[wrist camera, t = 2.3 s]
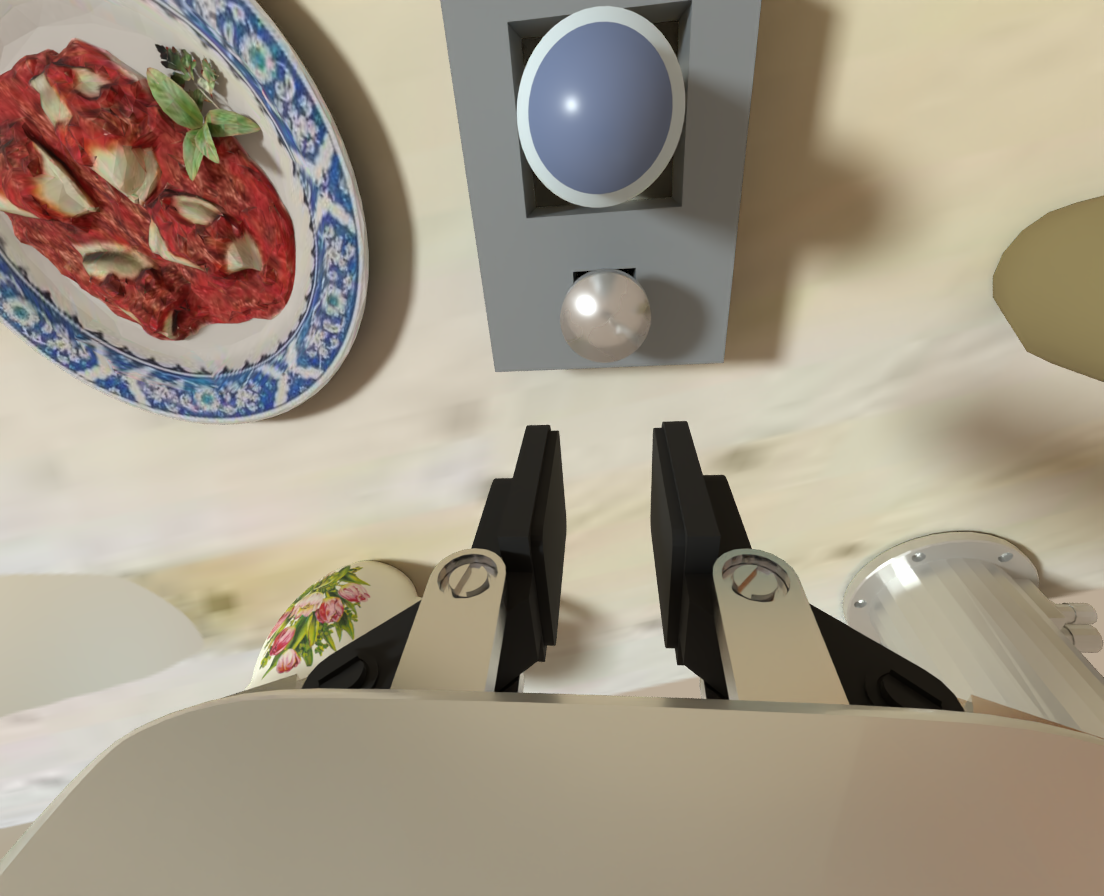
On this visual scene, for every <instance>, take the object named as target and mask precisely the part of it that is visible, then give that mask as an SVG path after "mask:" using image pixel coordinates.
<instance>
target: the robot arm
mask: <svg viewBox="0 0 1104 896" xmlns="http://www.w3.org/2000/svg"><path fill="white" fill-rule="evenodd" d="M651 535H652V543H653V552H654V560H655V568H656V576H657V585H658V593H659V601H660V609H661V618H662V626H663V634H664V642H665V647H666V648H675V653H676V660H677V665H685V666H686V667H688V668H689V669H690V670H691V671H693V672H694V673H695V674H696V675H698V676H699V677H700V693H701V699H694V698H664V697H635V696H607V695H576V694H546V693H523V688H524V671H525V670H527V669H528V668H529V667H530V666H532V665H533V664H534V663H536V662H537V661H539V662H545V657H546V648H547V645H551V646H555V645H556V638H557V628H558V617H559V606H560V595H561V584H562V573H563V562H564V552H565V541H566V509H565V497H564V485H563V473H562V461H561V448H560V436H559V431H551V428H550V425H529V426H527V427H526V430H525V434H524V437H523V441H522V445H521V449H520V453H519V457H518V460H517V464H516V468H515V472H514V476H513V478H501V479H494V480H493V482H492V485H491V488H490V491H489V495H488V498H487V501H486V504H485V507H484V510H483V513H482V517H481V520H480V523H479V526H478V529H477V532H476V536H475V539H474V542H473V545H472V548H471V549H465V550H461V551H458V552H456V553H453V554H451V555H449V556H448V557H446V558H444V559H443V560H442V561H441V562H440V563H439V564H438V565H436V566H435V568H434V570H433V571H432V573H431V575H430V577H429V580H428V583H427V586H426V589H425V592H424V594H423V597H422V600H420V601H418V602H417V603H415V604H413V605H412V606H410V607H408V608H407V609H405V610H403V611H402V612H400V613H399V614H397V615H395V616H394V617H392V618H390V619H389V620H387V621H385V622H384V623H382V624H380V625H379V626H377V627H375V628H374V629H372V630H370V631H369V632H367V633H366V634H364V635H362V636H361V637H359V638H357V639H356V640H354V641H352V642H351V643H349V644H347V645H346V646H344V647H342V648H341V649H339V650H337V651H336V652H334V653H333V654H331V655H329V656H328V657H327V658H325V659H324V660H323V661H321V662H320V663H319V664H318V665H317V666H316V667H315V668H314V669H313V671H312V672H311V673H310V674H309V675H308V677H306V678H303V679H300V678H299V676H298V675H297V674H295V675H291V676H288V677H285V678H282V679H279V680H276V681H273V682H270V683H267V684H264V685H261V686H257V687H254V688H251V689H248V690H245V691H242V692H239V693H236V694H233V695H230V696H227V697H223V698H220V699H216V700H211V701H208V702H204V703H201V704H198V705H195V706H192V707H189V708H185V709H182V710H179V711H176V712H173V713H170V714H168V715H165V716H163V717H160V718H158V719H156V720H153V721H151V722H149V723H147V724H145V725H143V726H141V727H139V728H137V729H135V730H133V731H131V732H130V733H128V734H127V735H125V736H124V737H122V738H120V739H119V740H117V741H116V742H114V743H113V744H112V745H111V746H110V747H108V748H107V749H106V750H105V751H103V752H102V753H101V754H100V755H98V756H97V757H96V758H95V759H94V760H93V761H92V762H91V763H90V764H89V765H88V766H87V767H85V768H84V769H83V770H82V771H81V772H80V773H79V774H78V775H77V776H76V777H75V778H74V779H73V780H72V781H71V782H70V783H69V784H68V785H67V786H66V787H65V789H64V790H63V791H62V792H61V793H60V794H59V795H58V796H57V797H56V798H55V799H54V801H53V802H52V803H51V804H50V805H49V806H48V807H47V808H46V809H45V810H44V811H43V813H42V814H41V815H40V816H39V817H38V818H37V819H36V820H35V821H34V822H33V823H32V825H31V826H30V827H29V828H28V829H27V830H26V831H25V833H24V834H23V835H22V836H21V837H20V838H19V840H18V841H17V842H16V843H15V844H14V845H13V846H12V848H11V849H10V850H9V851H8V852H7V853H6V855H5V856H4V857H3V858H2V859H1V860H0V896H1104V677H1103V676H1102V675H1101V674H1100V673H1099V672H1098V671H1097V670H1096V669H1095V668H1094V667H1093V665H1091V663H1090V662H1089V661H1088V660H1087V659H1086V658H1085V657H1084V656H1083V655H1082V654H1081V652H1088V653H1094V652H1099V651H1100V650H1101V649H1102V646H1103V641H1102V637H1101V635H1100V633H1099V632H1098V631H1097V629H1096V628H1094V627H1093V626H1091V625H1088V624H1093V623H1095V622H1096V620H1097V613H1096V611H1095V609H1094V608H1093V607H1092V606H1091V605H1089V604H1086V603H1062V604H1055V603H1054V602H1052V601H1050V600H1049V599H1048V598H1047V597H1046V596H1045V595H1044V594H1043V593H1042V592H1041V591H1040V590H1039V577H1038V573H1037V570H1036V568H1035V566H1034V565H1033V563H1032V562H1031V561H1030V559H1029V558H1028V557H1027V556H1026V555H1025V554H1024V553H1022V552H1021V551H1020V550H1019V549H1018V548H1017V547H1016V546H1015V545H1013V544H1011V543H1009V542H1008V541H1006V540H1004V539H1001V538H998V537H995V536H992V535H989V534H982V533H975V532H948V533H940V534H933V535H928V536H924V537H920V538H917V539H913V540H910V541H908V542H905V543H902V544H900V545H897V546H895V547H893V548H891V549H889V550H887V551H886V552H884V553H882V554H880V555H879V556H877V557H876V558H874V559H873V560H872V561H870V562H869V563H868V564H866V565H865V566H864V567H863V568H862V569H861V570H860V571H859V572H858V573H857V574H856V575H855V577H854V578H853V580H852V581H851V582H850V584H849V585H848V587H847V590H846V592H845V595H844V598H843V613H844V617H845V620H846V621H847V623H848V625H846V624H844V623H842V622H841V621H839V620H837V619H835V618H834V617H832V616H830V615H828V614H827V613H825V612H823V611H821V610H820V609H818V608H816V607H814V606H813V605H811V604H809V602H808V600H807V597H806V595H805V592H804V590H803V587H802V585H801V582H800V580H799V577H798V576H797V574H796V573H795V571H794V569H793V568H792V567H791V566H789V565H788V564H787V563H786V562H785V561H784V560H782V559H780V558H779V557H777V556H775V555H773V554H771V553H767V552H764V551H761V550H756V549H752V548H751V545H750V542H749V540H748V537H747V534H746V531H745V528H744V526H743V523H742V520H741V517H740V515H739V512H738V509H737V506H736V503H735V501H734V498H733V495H732V492H731V489H730V487H729V484H728V481H727V479H726V477H725V476H724V475H703V474H702V471H701V467H700V464H699V460H698V457H697V454H696V450H695V447H694V443H693V440H692V436H691V433H690V430H689V426H688V423H687V421H674V422H663V423H662V428H654V429H653V451H652V485H651ZM1069 623H1070V624H1069Z"/></svg>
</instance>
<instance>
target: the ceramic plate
mask: <svg viewBox="0 0 1104 896" xmlns="http://www.w3.org/2000/svg"><path fill="white" fill-rule="evenodd" d="M368 279H369V250H368V239H367V228H366V222H365V216H364V211H363V205H362V200H361V196H360V193H359V189H358V185H357V181H356V177H355V174H354V171H353V168H352V165H351V162H350V159H349V156H348V153H347V151H346V148H345V145H344V142H343V140H342V138H341V135H340V133H339V131H338V129H337V126H336V124H335V122H334V119H333V117H332V115H331V113H330V111H329V109H328V107H327V105H326V103H325V101H324V99H323V97H322V96H321V94H320V92H319V90H318V88H317V86H316V84H315V82H314V81H313V79H312V78H311V76H310V74H309V73H308V71H307V69H306V68H305V66H304V65H303V63H302V61H301V60H300V58H299V57H298V55H297V53H296V52H295V50H294V49H293V48H292V46H291V45H290V44H289V42H288V41H287V39H286V38H285V37H284V35H283V34H282V32H281V31H280V30H279V28H278V27H277V26H276V24H275V23H274V22H273V20H272V19H271V18H270V17H269V16H268V14H267V13H266V12H265V11H264V10H263V8H262V7H261V6H260V5H259V4H258V2H257V1H256V0H0V322H1V323H2V324H3V325H4V326H6V327H7V328H8V329H9V330H10V331H12V332H13V333H14V334H15V335H16V336H17V337H19V338H20V339H21V340H22V341H23V342H25V343H26V344H27V345H28V346H30V347H31V348H32V349H33V350H35V351H36V352H37V353H38V354H40V355H41V356H43V357H44V358H45V359H47V360H48V361H50V362H51V363H53V364H54V365H56V366H57V367H59V368H60V369H62V370H63V371H65V372H66V373H68V374H69V375H71V376H73V377H74V378H76V379H78V380H79V381H81V382H83V383H85V384H86V385H88V386H90V387H92V388H94V389H96V390H98V391H100V392H102V393H104V394H106V395H107V396H110V397H112V398H114V399H116V400H119V401H121V402H123V403H125V404H127V405H130V406H133V407H136V408H138V409H141V410H144V411H147V412H150V413H154V414H157V415H161V416H164V417H168V418H172V419H177V420H182V421H187V422H194V423H202V424H220V425H225V424H242V423H249V422H255V421H260V420H264V419H268V418H271V417H274V416H277V415H280V414H282V413H285V412H287V411H289V410H291V409H293V408H295V407H297V406H299V405H301V404H302V403H304V402H305V401H307V400H308V399H309V398H311V397H312V396H314V395H315V394H316V393H317V392H318V391H319V390H321V389H322V388H323V387H324V386H325V385H326V384H327V383H328V382H329V381H330V379H331V378H332V377H333V376H334V375H335V373H336V372H337V371H338V370H339V368H340V366H341V365H342V363H343V362H344V360H345V359H346V357H347V355H348V354H349V352H350V349H351V347H352V345H353V343H354V341H355V339H356V336H357V333H358V330H359V327H360V323H361V320H362V317H363V314H364V311H365V304H366V295H367V287H368Z"/></svg>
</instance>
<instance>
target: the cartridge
mask: <svg viewBox="0 0 1104 896" xmlns="http://www.w3.org/2000/svg"><path fill="white" fill-rule="evenodd" d="M684 115H685V88H684V80H683V76H682V72H681V68H680V65H679V63H678V60H677V57H676V55H675V53H674V51H673V49H672V47H671V45H670V44H669V42H668V41H667V39H666V38H665V37H664V35H663V34H662V33H661V32H660V31H659V30H658V29H657V28H656V27H655V26H654V25H653V24H652V23H651V22H649V21H648V20H647V19H645V18H644V17H642V16H640V15H639V14H637V13H635V12H633V11H630V10H627V9H624V8H620V7H612V6H597V7H592V8H587V9H584V10H581V11H578V12H576V13H573V14H572V15H570V16H568V17H566V18H565V19H563V20H561V21H560V22H559V23H558V24H556V25H555V26H554V27H553V28H552V29H551V30H550V31H549V32H548V33H547V34H546V35H545V36H544V37H543V38H542V40H541V41H540V42H539V44H538V45H537V46H536V48H535V49H534V51H533V53H532V55H531V56H530V58H529V60H528V63H527V65H526V67H525V70H524V72H523V76H522V79H521V82H520V87H519V92H518V99H517V125H518V132H519V137H520V141H521V145H522V148H523V151H524V154H525V156H526V159H527V161H528V163H529V164H530V166H531V168H532V170H533V171H534V173H535V174H536V176H537V177H538V178H539V180H540V181H541V182H542V183H543V184H544V185H545V186H546V187H547V188H548V189H549V190H551V191H552V192H553V193H554V194H556V195H557V196H559V197H560V198H562V199H564V200H566V201H568V202H570V203H573V204H576V205H580V206H584V207H591V208H602V207H609V206H614V205H617V204H621V203H623V202H626V201H628V200H630V199H632V198H634V197H635V196H637V195H639V194H640V193H642V192H643V191H644V190H645V189H647V188H648V187H649V186H650V185H651V184H652V183H653V182H654V181H655V180H656V179H657V178H658V177H659V176H660V174H661V173H662V172H663V170H664V169H665V168H666V166H667V164H668V163H669V161H670V159H671V158H672V156H673V153H674V151H675V149H676V147H677V144H678V141H679V138H680V135H681V132H682V127H683V122H684Z"/></svg>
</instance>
